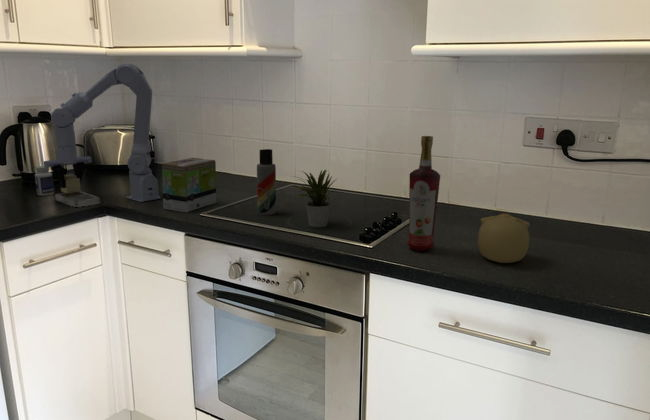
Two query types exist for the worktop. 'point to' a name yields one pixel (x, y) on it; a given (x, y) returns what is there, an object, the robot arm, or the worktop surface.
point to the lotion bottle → (266, 183)
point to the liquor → (423, 200)
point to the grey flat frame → (77, 199)
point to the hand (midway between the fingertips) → (70, 186)
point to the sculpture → (503, 238)
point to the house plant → (317, 199)
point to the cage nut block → (71, 184)
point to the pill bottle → (44, 181)
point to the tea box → (189, 184)
